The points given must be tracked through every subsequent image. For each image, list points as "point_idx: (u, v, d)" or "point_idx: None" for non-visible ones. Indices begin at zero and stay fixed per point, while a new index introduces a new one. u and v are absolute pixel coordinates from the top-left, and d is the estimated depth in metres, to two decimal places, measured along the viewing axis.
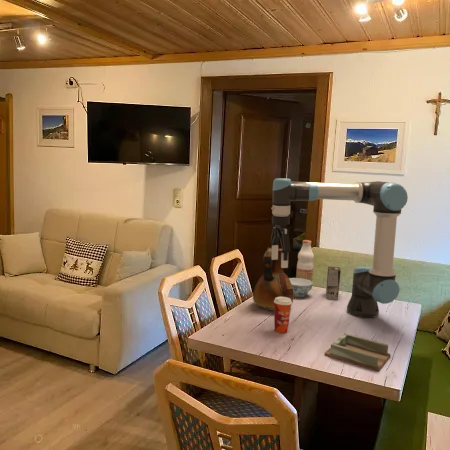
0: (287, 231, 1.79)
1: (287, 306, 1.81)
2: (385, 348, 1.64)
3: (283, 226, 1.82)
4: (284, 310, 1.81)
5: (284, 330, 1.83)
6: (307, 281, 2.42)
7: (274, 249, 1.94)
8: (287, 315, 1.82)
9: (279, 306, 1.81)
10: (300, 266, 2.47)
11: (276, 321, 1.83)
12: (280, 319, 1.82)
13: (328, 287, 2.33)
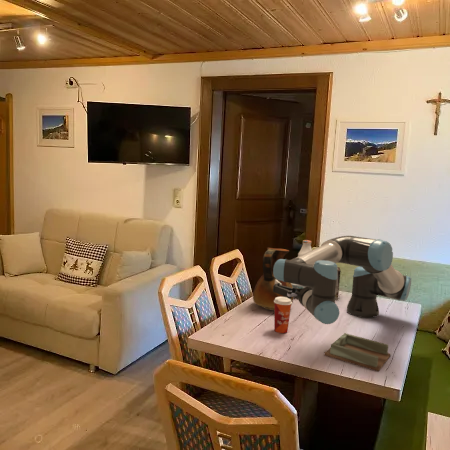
0: None
1: (287, 306, 1.81)
2: (385, 348, 1.64)
3: None
4: (284, 310, 1.81)
5: (284, 330, 1.83)
6: None
7: None
8: (287, 315, 1.82)
9: (279, 306, 1.81)
10: None
11: (276, 321, 1.83)
12: (280, 319, 1.82)
13: None
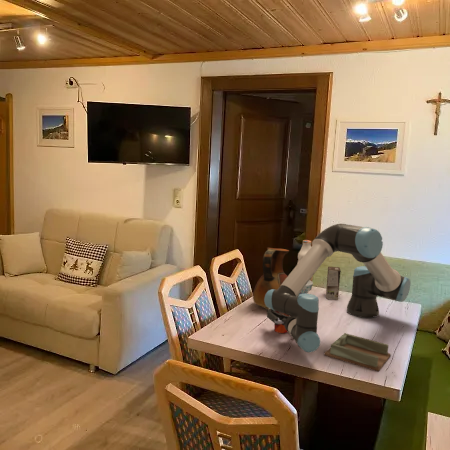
0: None
1: None
2: (385, 348, 1.64)
3: None
4: None
5: (284, 330, 1.83)
6: None
7: None
8: (287, 315, 1.82)
9: None
10: None
11: None
12: None
13: (328, 287, 2.33)
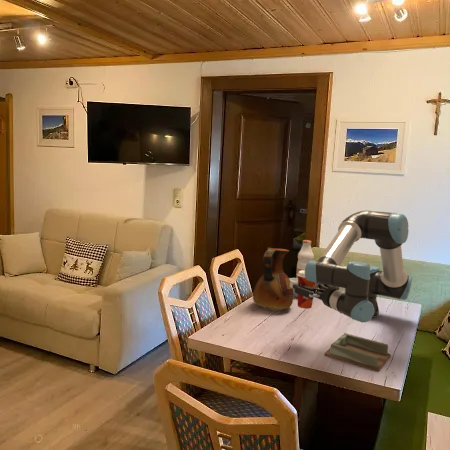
0: None
1: None
2: (385, 348, 1.64)
3: None
4: (311, 284, 1.70)
5: (310, 305, 1.72)
6: None
7: None
8: None
9: (305, 280, 1.70)
10: (300, 266, 2.47)
11: (302, 296, 1.71)
12: None
13: None
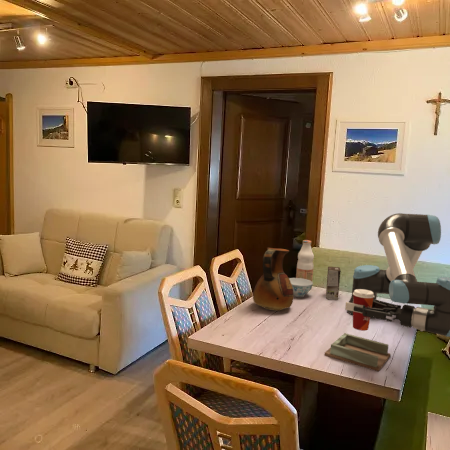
0: None
1: None
2: (385, 348, 1.64)
3: None
4: None
5: (368, 326, 1.61)
6: (307, 281, 2.42)
7: None
8: None
9: (368, 301, 1.58)
10: (300, 266, 2.47)
11: (362, 318, 1.59)
12: None
13: (328, 287, 2.33)
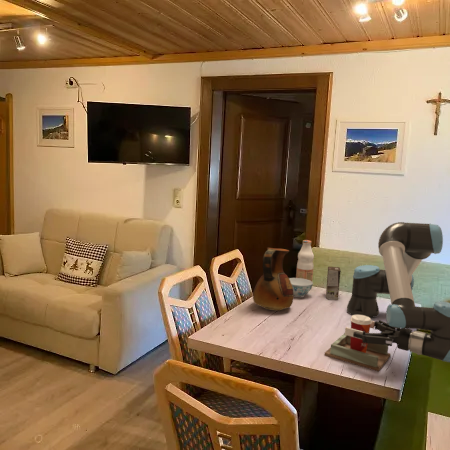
0: None
1: (370, 324, 1.62)
2: (385, 348, 1.64)
3: None
4: (369, 329, 1.61)
5: (365, 351, 1.63)
6: (307, 281, 2.42)
7: None
8: None
9: (365, 327, 1.60)
10: (300, 266, 2.47)
11: (360, 344, 1.61)
12: None
13: (328, 287, 2.33)
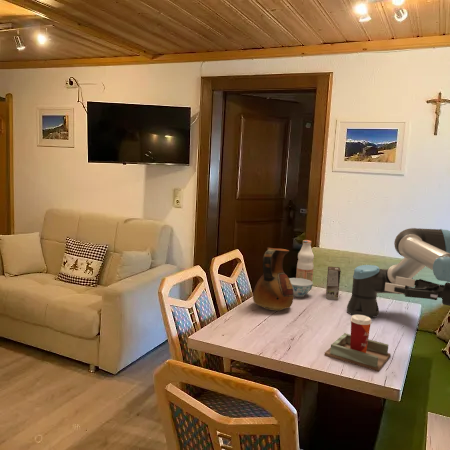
0: None
1: (370, 324, 1.62)
2: (385, 348, 1.64)
3: None
4: (369, 329, 1.61)
5: (365, 351, 1.63)
6: (307, 281, 2.42)
7: None
8: None
9: (365, 327, 1.59)
10: (300, 266, 2.47)
11: (360, 344, 1.61)
12: (365, 340, 1.61)
13: (328, 287, 2.33)
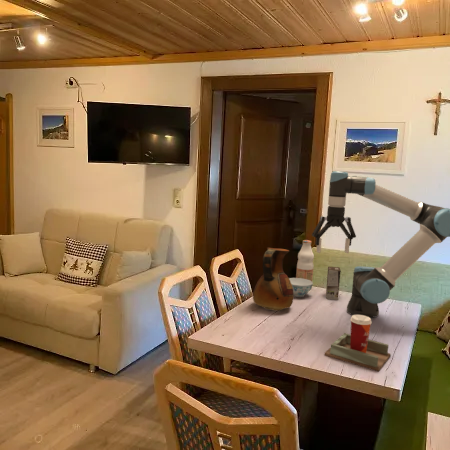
0: (321, 218, 1.94)
1: (370, 324, 1.62)
2: (385, 348, 1.64)
3: (327, 215, 1.95)
4: (369, 329, 1.61)
5: (365, 351, 1.63)
6: (307, 281, 2.42)
7: (346, 242, 1.99)
8: None
9: (365, 327, 1.59)
10: (300, 266, 2.47)
11: (360, 344, 1.61)
12: (365, 340, 1.61)
13: (328, 287, 2.33)
